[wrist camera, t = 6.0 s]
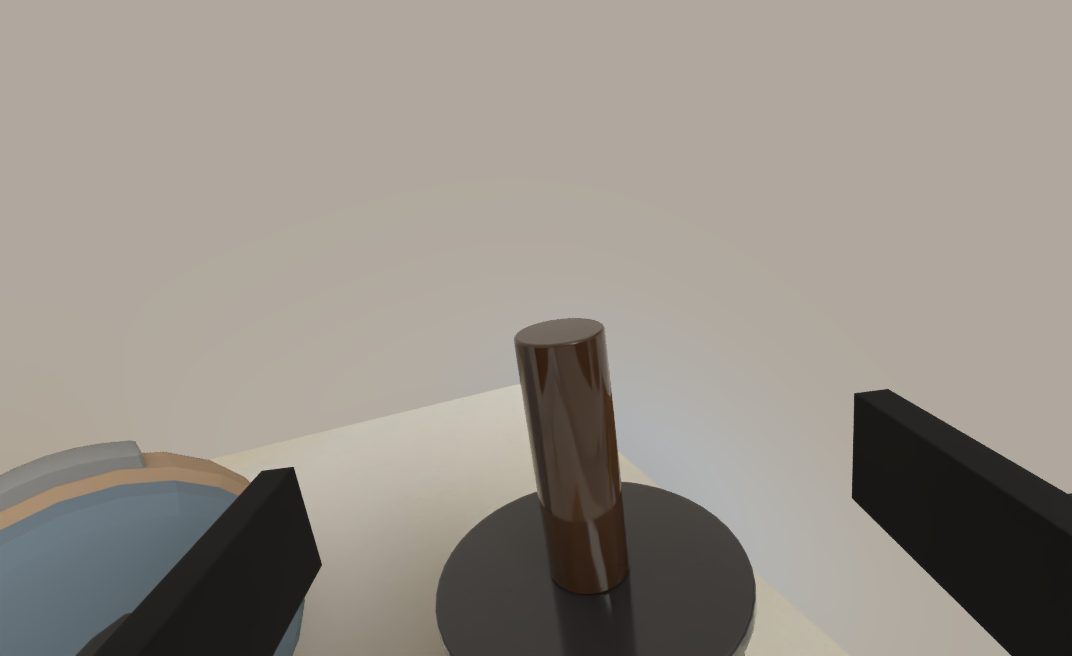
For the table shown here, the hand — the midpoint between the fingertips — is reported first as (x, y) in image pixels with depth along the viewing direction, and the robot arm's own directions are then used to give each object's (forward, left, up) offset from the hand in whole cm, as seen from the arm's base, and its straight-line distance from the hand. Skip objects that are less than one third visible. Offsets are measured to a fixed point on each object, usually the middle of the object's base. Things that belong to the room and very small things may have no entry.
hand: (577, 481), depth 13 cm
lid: (+2, -3, -6) cm, 7 cm away
